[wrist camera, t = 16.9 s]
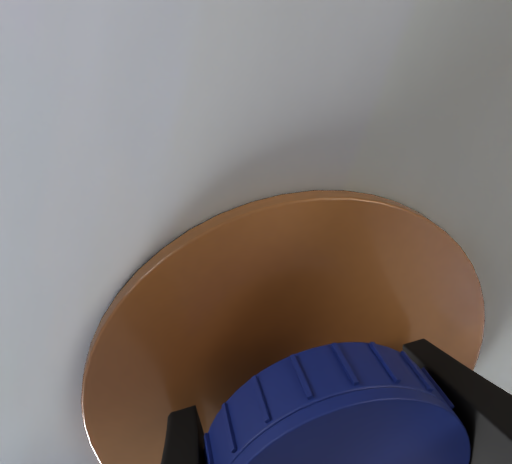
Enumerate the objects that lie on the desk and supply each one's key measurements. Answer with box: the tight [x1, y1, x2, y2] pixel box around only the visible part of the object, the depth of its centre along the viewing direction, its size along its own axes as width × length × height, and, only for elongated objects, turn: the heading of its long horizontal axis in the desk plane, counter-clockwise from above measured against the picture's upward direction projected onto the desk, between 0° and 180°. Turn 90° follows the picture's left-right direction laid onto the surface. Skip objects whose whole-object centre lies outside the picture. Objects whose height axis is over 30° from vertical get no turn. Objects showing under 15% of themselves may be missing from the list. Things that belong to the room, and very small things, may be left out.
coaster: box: [81, 190, 485, 464], centre depth 12 cm, size 11×11×1 cm
